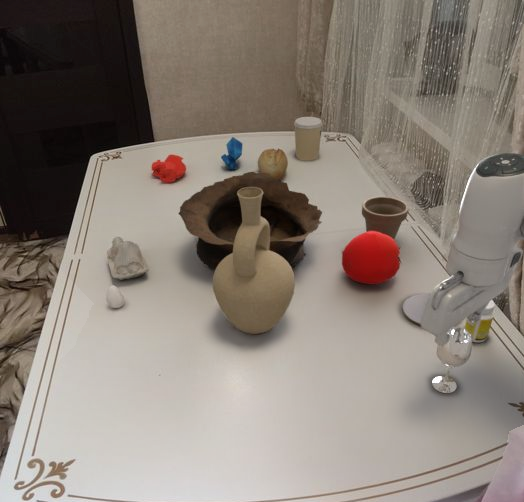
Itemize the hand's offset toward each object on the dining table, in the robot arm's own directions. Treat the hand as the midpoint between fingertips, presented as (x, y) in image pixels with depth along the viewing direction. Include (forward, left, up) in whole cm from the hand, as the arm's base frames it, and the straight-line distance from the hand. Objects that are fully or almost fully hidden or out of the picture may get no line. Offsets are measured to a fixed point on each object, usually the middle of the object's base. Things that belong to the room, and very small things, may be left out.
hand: (457, 331), depth 94 cm
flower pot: (+7, -54, -13) cm, 56 cm away
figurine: (+70, -37, -13) cm, 80 cm away
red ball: (+11, -36, -13) cm, 40 cm away
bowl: (+40, -46, -13) cm, 62 cm away
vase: (+37, -17, -13) cm, 43 cm away
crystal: (+52, -103, -13) cm, 116 cm away
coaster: (-1, -23, -13) cm, 26 cm away
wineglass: (0, 0, -13) cm, 13 cm away
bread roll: (+38, -96, -13) cm, 104 cm away
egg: (+69, -22, -13) cm, 73 cm away
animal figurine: (+72, -96, -13) cm, 121 cm away
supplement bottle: (-9, -15, -13) cm, 22 cm away
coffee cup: (+27, -112, -13) cm, 116 cm away
